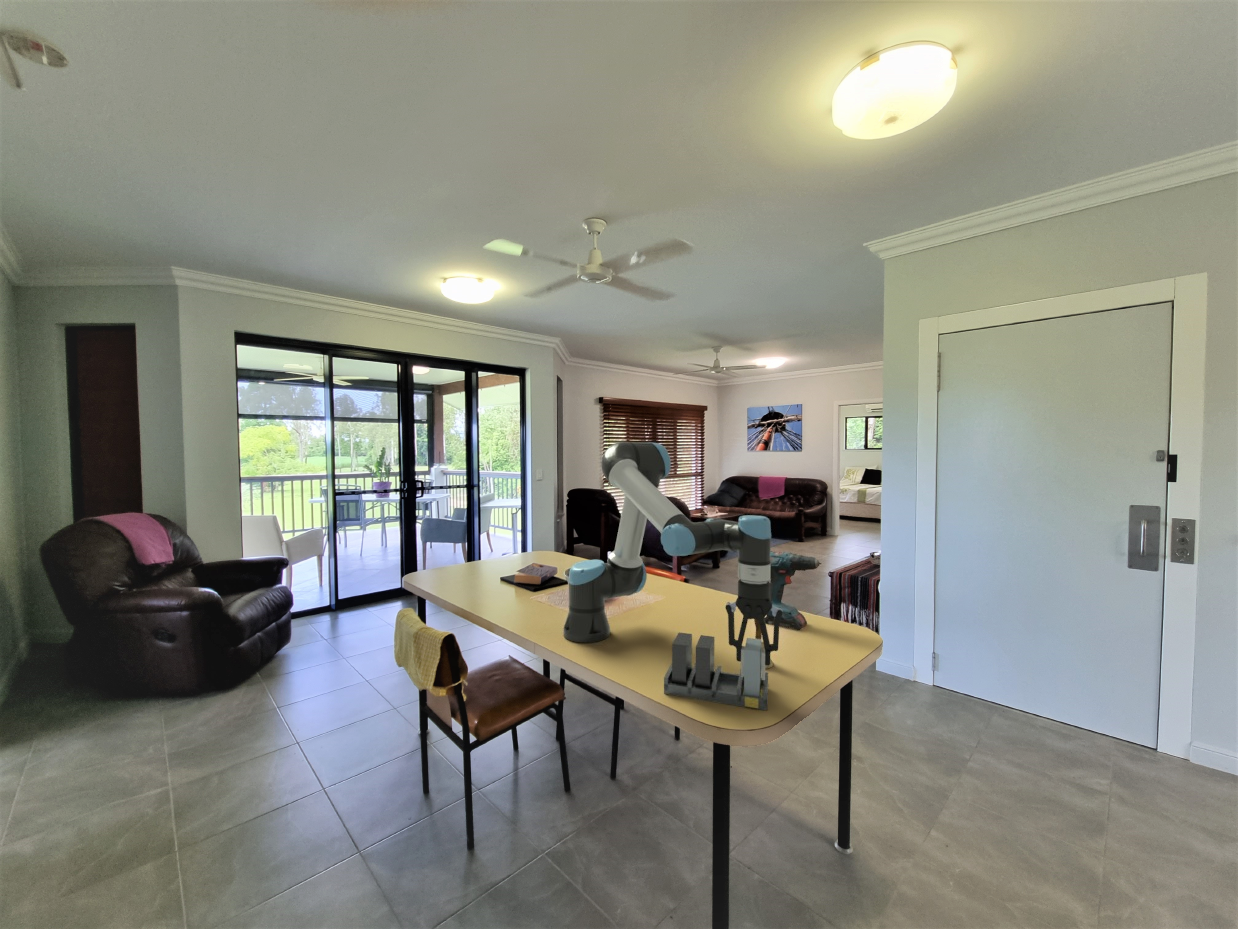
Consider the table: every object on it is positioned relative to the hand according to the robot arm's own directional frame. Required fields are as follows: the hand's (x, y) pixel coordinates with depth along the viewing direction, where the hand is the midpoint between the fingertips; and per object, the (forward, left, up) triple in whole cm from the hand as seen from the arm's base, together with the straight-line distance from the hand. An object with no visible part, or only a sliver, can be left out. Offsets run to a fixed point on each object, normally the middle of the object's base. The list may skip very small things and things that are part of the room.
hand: (753, 675), depth 116 cm
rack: (-9, 0, -5) cm, 10 cm away
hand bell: (0, +20, -5) cm, 21 cm away
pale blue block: (0, 0, -3) cm, 3 cm away
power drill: (+8, +56, -5) cm, 57 cm away
